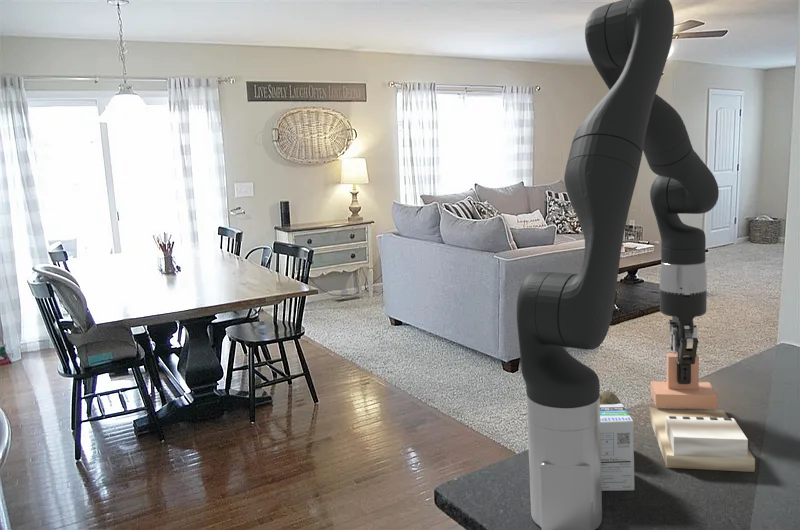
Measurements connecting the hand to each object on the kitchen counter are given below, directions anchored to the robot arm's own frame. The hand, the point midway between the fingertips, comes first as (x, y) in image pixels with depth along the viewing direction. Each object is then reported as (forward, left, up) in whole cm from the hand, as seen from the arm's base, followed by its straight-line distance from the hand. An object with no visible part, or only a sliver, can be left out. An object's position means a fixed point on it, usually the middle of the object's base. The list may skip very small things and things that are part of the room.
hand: (682, 380), depth 112 cm
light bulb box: (-26, +17, -6) cm, 32 cm away
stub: (0, 0, -4) cm, 4 cm away
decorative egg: (-16, +14, -6) cm, 22 cm away
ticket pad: (-12, 0, -6) cm, 14 cm away
